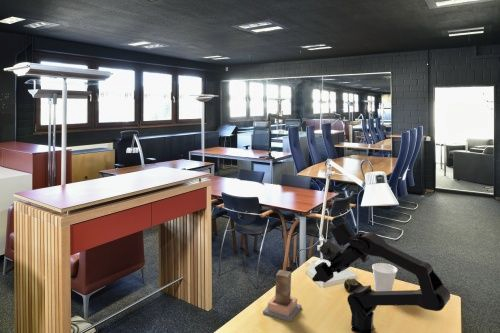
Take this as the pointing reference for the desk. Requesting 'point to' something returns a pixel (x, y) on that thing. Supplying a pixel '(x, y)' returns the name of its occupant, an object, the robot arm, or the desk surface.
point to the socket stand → (282, 309)
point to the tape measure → (351, 284)
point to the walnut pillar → (283, 287)
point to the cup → (384, 276)
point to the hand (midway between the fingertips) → (319, 276)
